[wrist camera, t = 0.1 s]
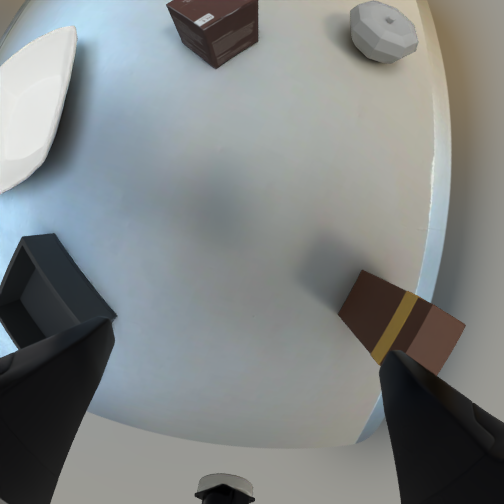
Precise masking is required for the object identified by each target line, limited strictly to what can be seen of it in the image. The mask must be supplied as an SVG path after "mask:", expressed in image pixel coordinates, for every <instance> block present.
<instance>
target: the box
mask: <svg viewBox="0 0 504 504" xmlns="http://www.w3.org/2000/svg"><path fill="white" fill-rule="evenodd" d="M166 6H167V8H168V10H169V12H170V15H171V17H172V19H173V21H174V24H175V26H176V29H177V31H178V33H179V36H180V38H181V40H182V43H184V44H185V45H186V46H187V47H188V48H190V49H191V50H193V51H194V52H195V53H196V54H198V55H199V56H200V57H201V58H203V59H204V60H205V61H206V62H208V63H209V64H210V65H211V66H212V67H213V68H215V69H216V68H218V67H219V66H221V65H222V64H223V63H225V62H226V61H228V60H229V59H231V58H232V57H234V56H235V55H237V54H238V53H240V52H241V51H243V50H245V49H246V48H248V47H249V46H251V45H253V44H254V43H256V42H258V0H173V1H171V2H169V3H168V4H166Z"/></svg>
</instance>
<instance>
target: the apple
mask: <svg viewBox="0 0 504 504" xmlns="http://www.w3.org/2000/svg"><path fill="white" fill-rule="evenodd" d="M350 26H351V35H352V40H353V43H354V45H355V46H356V47H357V48H358V49H359V50H360V51H361V52H362V53H363V54H364V55H365V56H366V57H367V58H369V59H372V60H375V61H378V62H381V63H393V62H395V61H397V60H399V59H401V58H403V57H405V56H407V55H409V54H411V53H413V52H415V51H416V48H417V45H418V38H417V34H416V30H415V26H414V24H413V23H412V22H411V21H410V20H409V19H408V18H407V17H406V16H404V15H403V14H402V13H401V12H400V11H399V10H398V9H397V8H394V7H392V6H389V5H386V4H384V3H381V2H378V1H374V0H373V1H369V2H365V3H362V4H359V5H357V6H356V7H354V8H353V9H352V10H351V11H350Z"/></svg>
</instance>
